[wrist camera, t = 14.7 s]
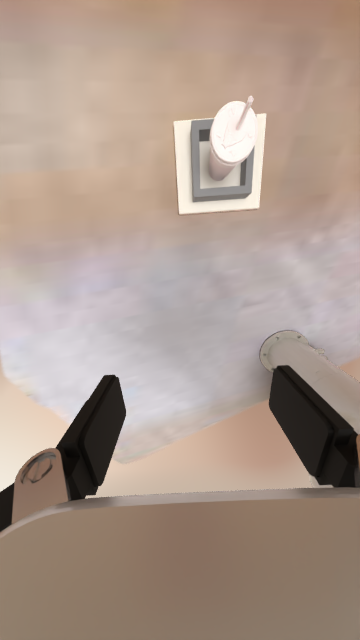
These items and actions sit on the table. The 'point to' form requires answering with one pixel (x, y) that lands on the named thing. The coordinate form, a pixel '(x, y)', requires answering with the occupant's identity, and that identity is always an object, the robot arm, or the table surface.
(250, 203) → the socket board
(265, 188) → the table surface
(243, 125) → the smoothie
